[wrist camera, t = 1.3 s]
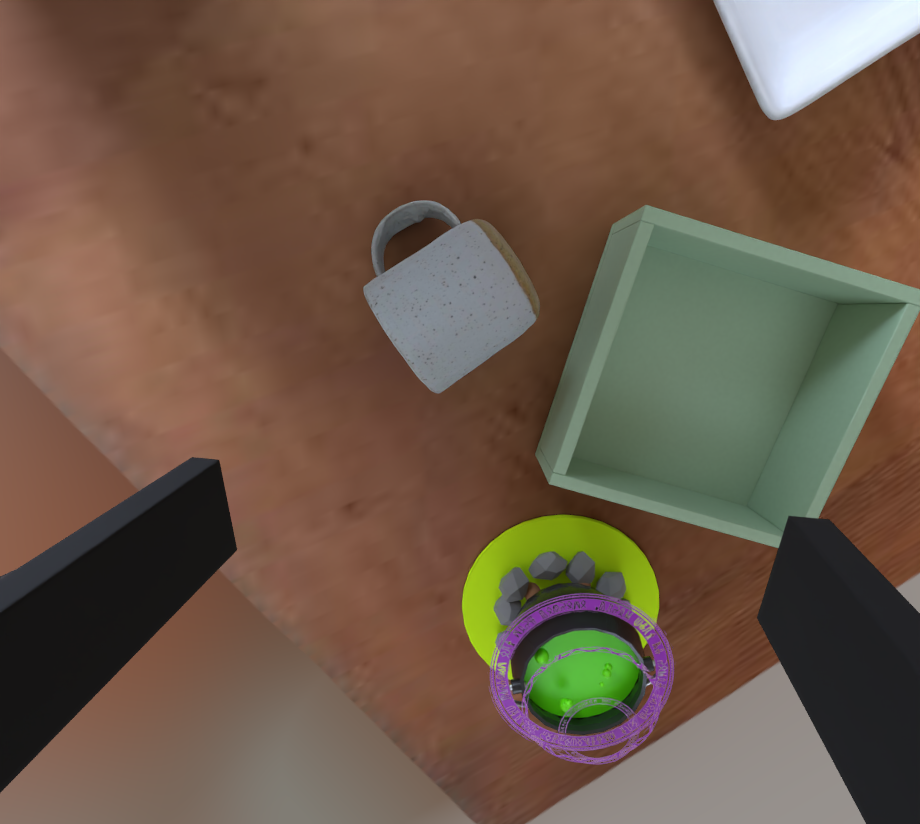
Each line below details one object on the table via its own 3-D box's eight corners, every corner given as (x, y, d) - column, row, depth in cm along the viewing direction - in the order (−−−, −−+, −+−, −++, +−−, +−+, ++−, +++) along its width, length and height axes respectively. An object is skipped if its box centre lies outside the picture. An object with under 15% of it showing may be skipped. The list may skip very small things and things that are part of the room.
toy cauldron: (483, 702, 38) (489, 857, 27) (443, 535, 35) (432, 636, 24) (669, 671, 37) (751, 819, 26) (645, 497, 34) (727, 584, 23)
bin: (612, 223, 30) (645, 204, 24) (844, 295, 31) (929, 292, 25) (534, 454, 34) (548, 484, 28) (745, 514, 34) (800, 554, 29)
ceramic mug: (539, 316, 31) (561, 316, 24) (440, 386, 32) (430, 407, 25) (447, 177, 30) (438, 130, 22) (345, 255, 31) (305, 235, 23)
